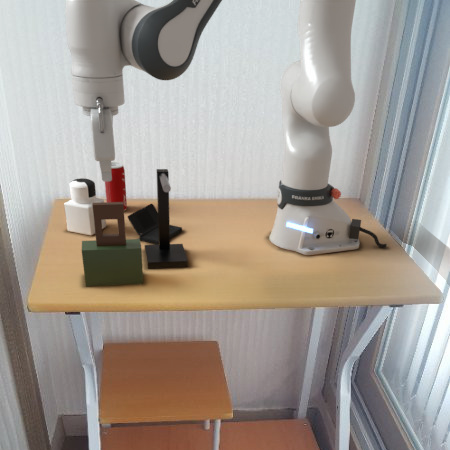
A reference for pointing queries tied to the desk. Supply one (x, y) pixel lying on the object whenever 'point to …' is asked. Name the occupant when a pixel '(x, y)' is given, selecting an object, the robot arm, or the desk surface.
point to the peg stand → (164, 232)
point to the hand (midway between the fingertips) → (106, 172)
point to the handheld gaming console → (149, 224)
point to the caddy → (111, 251)
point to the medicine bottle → (82, 207)
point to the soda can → (116, 185)
